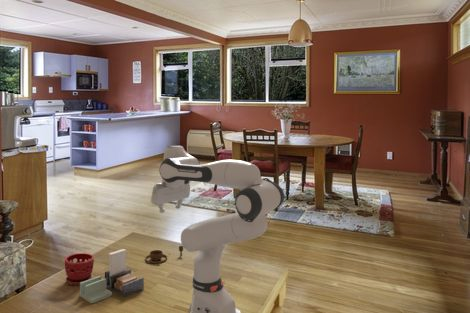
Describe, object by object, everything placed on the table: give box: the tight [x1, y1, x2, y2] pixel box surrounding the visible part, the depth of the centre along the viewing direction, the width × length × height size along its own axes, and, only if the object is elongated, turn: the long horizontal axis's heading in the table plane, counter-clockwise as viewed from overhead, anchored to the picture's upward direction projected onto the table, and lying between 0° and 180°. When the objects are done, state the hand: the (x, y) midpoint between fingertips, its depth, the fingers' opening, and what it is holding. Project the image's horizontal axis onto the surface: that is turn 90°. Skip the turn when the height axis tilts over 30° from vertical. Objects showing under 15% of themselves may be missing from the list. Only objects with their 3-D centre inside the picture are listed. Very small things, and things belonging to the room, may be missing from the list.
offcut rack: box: [104, 268, 145, 298], centre depth 186 cm, size 15×11×8 cm
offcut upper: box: [117, 273, 138, 285], centre depth 185 cm, size 6×7×2 cm
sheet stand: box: [79, 275, 113, 304], centre depth 178 cm, size 10×10×6 cm
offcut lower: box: [114, 282, 122, 291], centre depth 185 cm, size 7×9×2 cm
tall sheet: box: [108, 248, 127, 276], centre depth 188 cm, size 2×8×15 cm, turn 141°
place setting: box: [144, 245, 184, 267], centre depth 220 cm, size 18×20×6 cm
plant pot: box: [64, 252, 95, 286], centre depth 192 cm, size 13×13×12 cm
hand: (170, 210), depth 179 cm, fingers open, 8 cm apart
